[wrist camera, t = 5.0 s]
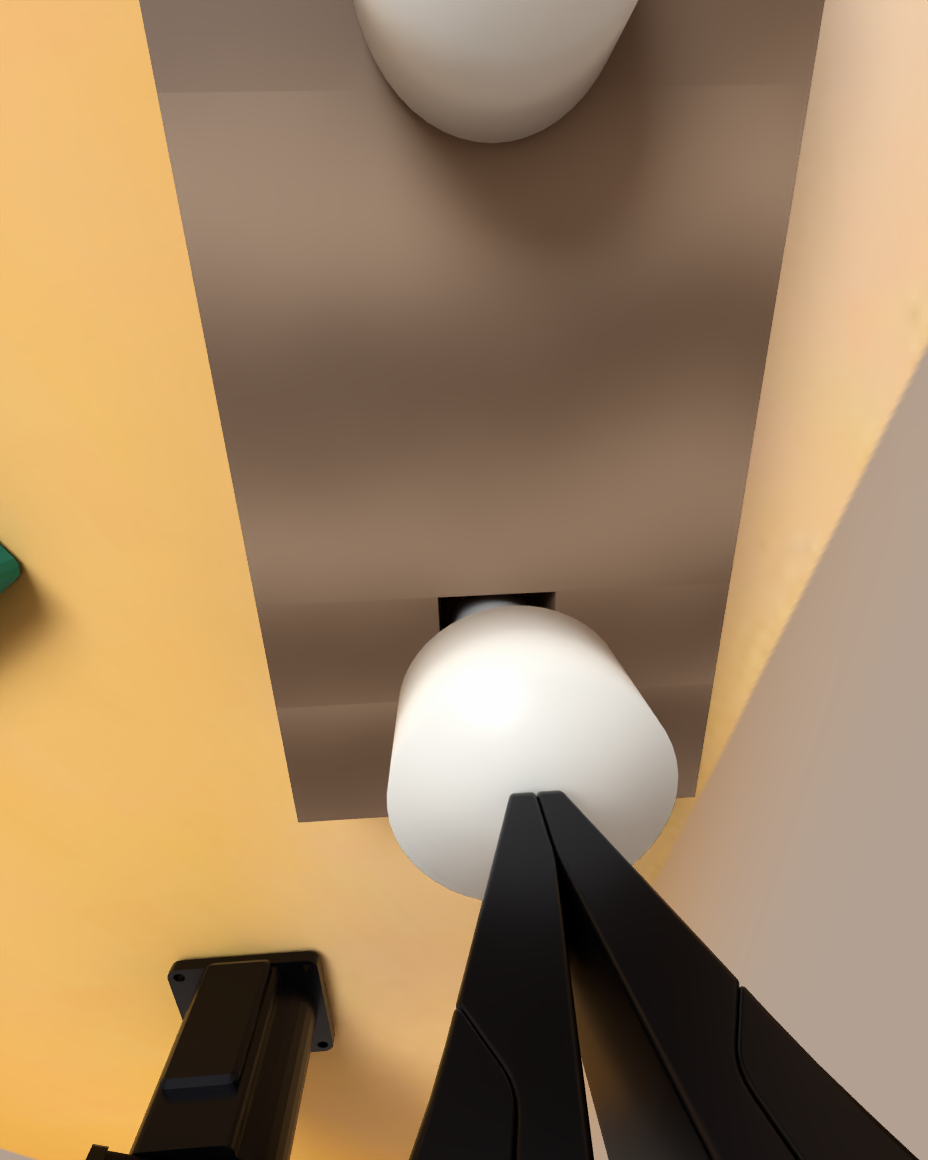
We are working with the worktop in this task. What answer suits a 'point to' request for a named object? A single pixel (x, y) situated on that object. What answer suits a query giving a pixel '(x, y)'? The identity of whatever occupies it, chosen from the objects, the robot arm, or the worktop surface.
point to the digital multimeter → (7, 569)
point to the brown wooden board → (481, 347)
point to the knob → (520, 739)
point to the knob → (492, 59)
